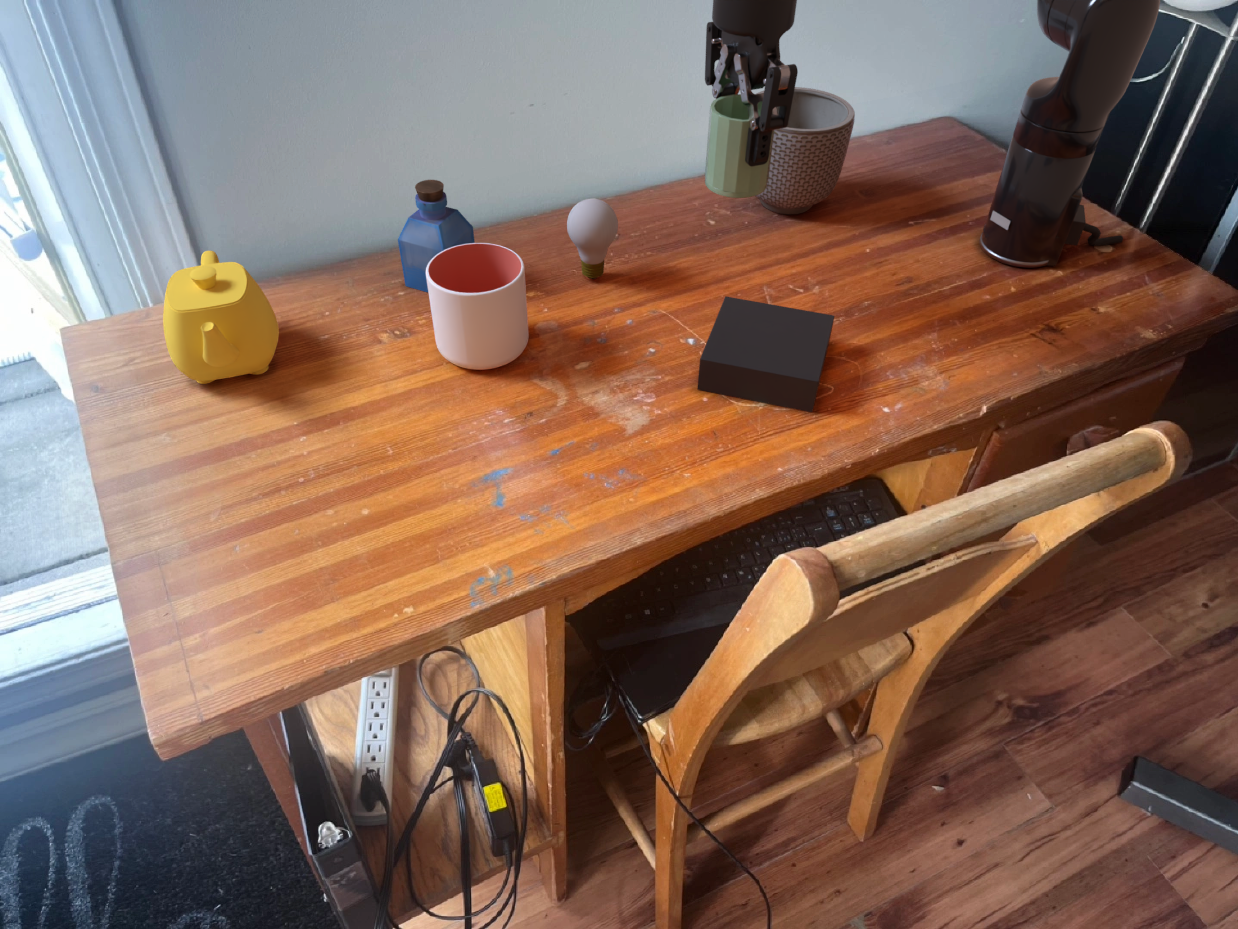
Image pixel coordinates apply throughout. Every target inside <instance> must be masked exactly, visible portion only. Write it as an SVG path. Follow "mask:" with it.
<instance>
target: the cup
mask: <svg viewBox="0 0 1238 929" xmlns="http://www.w3.org/2000/svg"><path fill="white" fill-rule="evenodd" d="M525 271H526V270H525V263H524V261H523V259H522V257H521V256H520V255H519V254H518V253H517V252H515V251H514V250H512V249H510V248H509V247H505V246H503V245H500V244H496V243H495V244H494V243H489V242H475V243H469V244H462V245H458V246H454V247H451V248H448V249H446V250H444V251H442V252H440V253H438V254H437V255H436V256H434V257H433V258H432V259H431V260H430V262H429V263H428V265H427V267H426V279H427V286H428V292H427V293H428V300H429V305H430V306H429V307H430V312H431V318H432V327H433V333H434V339H435V340H434V341H435V346H436V347H437V350H438V352H439V353H440V355H441V356H442V357H443V358H444V359H445V360H446V361H448V362H449V363H451V364H453V365H455V366H457V367H460V368H463V369H468V370H477V371H478V370H479V371H481V370H482V371H483V370H491V369H496V368H499V367H503V366H505V365H507V364H509V363H511V362H513V361H514V360H516V359H517V358H518V357H520V355H521V354H523V352H524V350H525V349H526V347H527V345H528V342H529V337H530V335H529V333H530V332H529V318H528V317H529V316H528V303H527V286H526V272H525Z"/></svg>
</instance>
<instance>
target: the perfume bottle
mask: <svg viewBox="0 0 1238 929" xmlns="http://www.w3.org/2000/svg"><path fill="white" fill-rule="evenodd" d="M444 186H445V184H444V182H442V181H441V180H438V179H425V180H424V179H423V180H421V181H419V182H417V183H416V184H415V185H414V188H415V191H416V194H415V197H414V201H415V206H416V208H417V210H416V211H415V212H413V213H412V214H411V215H409V216H408V217H407V219H406V221H405V223H404V225H403V228H402V230H401V232H400V233H399V236H398V238H397V244H398V250H399V257H400V261H401V268H402V273H403V274H402V275H403V279H404V286H405V287H407V288H411V289H413V290H417V291H421V292H424V293H428V286H427V279H426V267H427V265H428V263H429V262H430V260H431V259H432V258H433V257H434V256H436V255H437V254H438V253H440V252H442V251H444V250H446V249H448V248H451V247H454V246H458V245H462V244H469V243H476V241H475V232H474V226H473V225H472V224H471V223H470V222H469V220H467V218H466V217H465V216H464V214H462V213H461V212H460V211H459V209H457V208H453V207H448V197H447V193H446V192H445V191H444Z"/></svg>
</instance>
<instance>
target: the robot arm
mask: <svg viewBox="0 0 1238 929" xmlns="http://www.w3.org/2000/svg"><path fill="white" fill-rule="evenodd" d="M797 2H798V0H712V12H711V20H712V21H708V22H707V23H706V28H705V31H706V33H705V57H704V58H705V62H704V64H705V65H704V81H705V85H706V86H708V87H709V86H711V87H712V88H711V93H712V94H711V95H712V97H713V98H714V99H717V98H719V97H722V96H727V95H732V94H741V100H742V103H743V104H744V105H745V106H747V109H748V117H749V125H750V128H749V129H748V138H747V147H746V157H745V162H746V163H747V164H748V165H749V166H751V167H752V166H758V165H763V164H766V163H767V161H768V158H769V152H770V144H771V137H772V131H773V130H775V129H781V128H786V127H787V126H788V121H789V116H790V111H791V105H792V100H793V95H794V89H795V87H796V83H797V78H798V73H799V72H798V66H797V64H795V63H792V64H785V63H784V62H782V60H781V50H780V40H781V38H782V36H783V35H784V34H786V32H788V31H789V30H790V29H791V28H792V27H793V26H794V24H795V18H796V10H797V4H798V3H797ZM1160 6H1161V0H1036V16H1037V22H1038V26H1039V28H1040V30H1041V32H1042V34H1043V35H1044V36H1045V38H1046V39H1048V40H1049V41H1051V42H1052V43H1053V44H1055V45H1056V46H1058V47H1060V48H1061V49H1064V50H1065V51H1066V52H1068V55H1067V57H1066V60H1065V62H1064V64H1063V67H1062V69H1061V72H1060V73H1059V76H1050V77H1044V78H1040V79H1038V80H1035V81H1034V82H1033V83H1032V84H1030V85H1029V87H1028V89H1027V90H1026V93H1025V95H1024V98H1023V102H1022V105H1021V107H1020V111H1019V114H1018V117H1017V121H1016V124H1015V127H1014V130H1013V133H1012V137H1011V140H1010V142H1009V146H1008V150H1007V152H1006V156H1005V159H1004V162H1003V166H1002V168H1001V172H1000V175H999V178H998V182H997V185H996V188H995V191H994V193H993V197H992V201H991V205H990V208H989V210H988V213H987V217H986V220H985V223H984V226H983V230H982V232H981V234H980V237H979V239H978V240H979V241H978V244H979V248H980V249H981V250H982V252H983V253H984V254H986V256H988V257H990V258H991V259H993V260H995V261H997V262H999V263H1001V264H1005V265H1008V266H1011V267H1016V268H1025V269H1026V268H1027V269H1033V268H1035V269H1036V268H1042V267H1045V266H1048V267H1049V266H1050V267H1056V266H1057V265H1058V263H1059V260H1060V257H1061V255H1062V252H1063V249H1064V247H1065V245H1071V246H1078V244H1079V242H1080V239H1081V237H1082V234H1083V232H1086V233H1089V234H1090V235H1089V236H1088V237H1087V239H1086V240H1087V243H1088V245H1091V246H1093V247H1098V246H1100V247H1101V246H1108V245H1113V244H1121V243H1122V242H1123V241H1124V237H1123V235H1122V234H1119V235H1113V236H1107V237H1106V236H1105V237H1101V233H1102V232H1101V230H1100V229H1099V228H1098V227H1097V226H1095V225H1091V224H1090V223H1087V221H1086V214H1085V213H1086V211H1085V205H1084V204H1081V202H1082V199H1083V195H1084V194H1083V186H1084V185H1083V184H1084V182H1085V179H1086V177H1087V174H1088V171H1089V169H1090V166H1091V163H1092V161H1093V158H1094V155H1095V152H1096V150H1097V147H1098V144H1099V142H1100V139H1101V137H1102V135H1103V131H1104V128H1105V127H1106V124H1107V122H1108V119H1109V116H1110V114H1111V113H1112V111H1113V109H1115V107H1116V106H1117V105H1118V103H1119V102H1120V101H1121V99H1122V98H1123V96H1124V95H1125V94H1126V91H1127V89H1128V87H1129V86H1130V82H1131V80H1132V78H1133V76H1134V73H1135V71H1136V69H1137V67H1138V65H1139V63H1140V60H1141V58H1142V55H1143V53H1144V51H1145V49H1146V47H1147V44H1148V42H1149V40H1150V38H1151V35H1152V34H1153V30H1154V28H1155V25H1156V22H1157V20H1158V19H1157V18H1158V15H1159V11H1160ZM717 61H718V62H717ZM716 62H717V64H716ZM715 65H716V66H715ZM759 89H764V90H763V91H764V93H761V94H756V93H754V92H753V91H754V90H759ZM761 102H762V107H761V113H760V116H759V114H758V106H757V105H758V103H761ZM776 107H780V108H779V114H778V115H777V108H776Z"/></svg>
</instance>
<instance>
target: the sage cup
mask: <svg viewBox="0 0 1238 929" xmlns="http://www.w3.org/2000/svg"><path fill="white" fill-rule="evenodd" d="M757 106H758V114H759V116H760V113H761V107H762V102H761V103H758V105H757ZM749 128H750V125H749V117H748V109H747V106H745V105H744V104H743V103H742V100H741V93H738V94H732V95H727V96H722V97H719V98H717V99H716V98H714V99H713V100H712V102H711V104H710V105H709V116H708V129H707V130H708V131H707V142H706V156H705V169H704V184H705V186H706V188H707V189H708V190H709V191H711V192H712V193H714V194H716V195H718V196H722V197H724V198H725V197H726V198H731V199H747V198H753V197H756V195H759V194H760V193H762V192H763V191H764V190H765V189H766V187H767V181H768V177H769V169H770V161H771V153H772V145H773V137H774V130H773V131H772V137H771V144H770V152H769V158H768V161H767V163H766V164H763V165H758V166H752V167H751V166H749V165H748V164H747V163H746V162H745V157H746V147H747V138H748V129H749Z"/></svg>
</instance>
